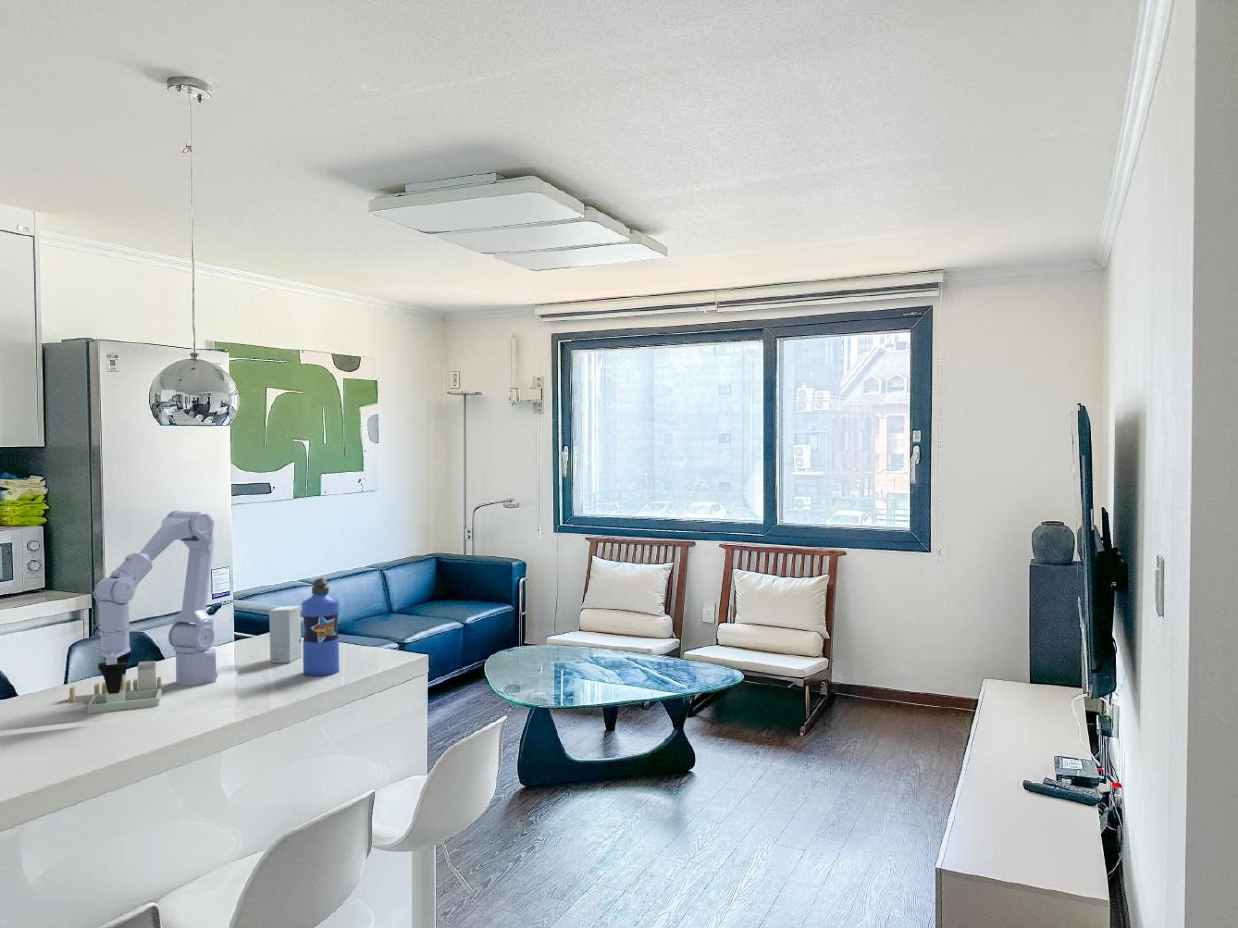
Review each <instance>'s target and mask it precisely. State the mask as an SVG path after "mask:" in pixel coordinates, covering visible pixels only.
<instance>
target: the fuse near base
mask: <svg viewBox="0 0 1238 928" xmlns="http://www.w3.org/2000/svg"><path fill="white" fill-rule="evenodd" d="M156 662H157V661H156V660H149V661H139V662H138V664H137V679H138V691H141V690H151V689H156V688H157V674H156V673H157V670H156V669H157V668H156V667H157V664H156Z"/></svg>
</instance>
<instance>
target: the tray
mask: <svg viewBox="0 0 1238 928" xmlns="http://www.w3.org/2000/svg"><path fill="white" fill-rule="evenodd" d="M100 694H101V693H100ZM162 696H163V694H162V688H160V689H151V690H141V691H131V692H125V701H121V702H111V703H106V694H101V695H94V696H93V697H92V699H91V701H88V704H87V714H95V713H103V712H113V711H122V710H130V709H131V710H132V709H142V708H143V709H144V708H150V707H159V706H160V703H161V701H162Z"/></svg>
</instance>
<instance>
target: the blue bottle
mask: <svg viewBox="0 0 1238 928" xmlns="http://www.w3.org/2000/svg"><path fill="white" fill-rule="evenodd" d="M328 584H329V582H328V581H327V580H326V579H325V578H323V577H321V578H316V580H314V582H312V585H313V587H312V586H311V593H312V595H311V596H310V597H309V598H307V599H305V600H303V601H302V602H301V615H302V618H303V627H304V634H303V640H302V647H303V648H302V650H303V651H302V658H303V659H302V660H303V661H302V663H303V666H302V667H303V669H302V670H303V675H304V676H305V677H312V678H314V677H315V678H320V677H327V676H333V675H335V674H338V673H339V672H340V641H339V633H338V619H339V613H340V602H339V601H340V600H339V599H337V598H335V597H333V596H331V595H330V594H329V593H330V588H329V586H328Z"/></svg>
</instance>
